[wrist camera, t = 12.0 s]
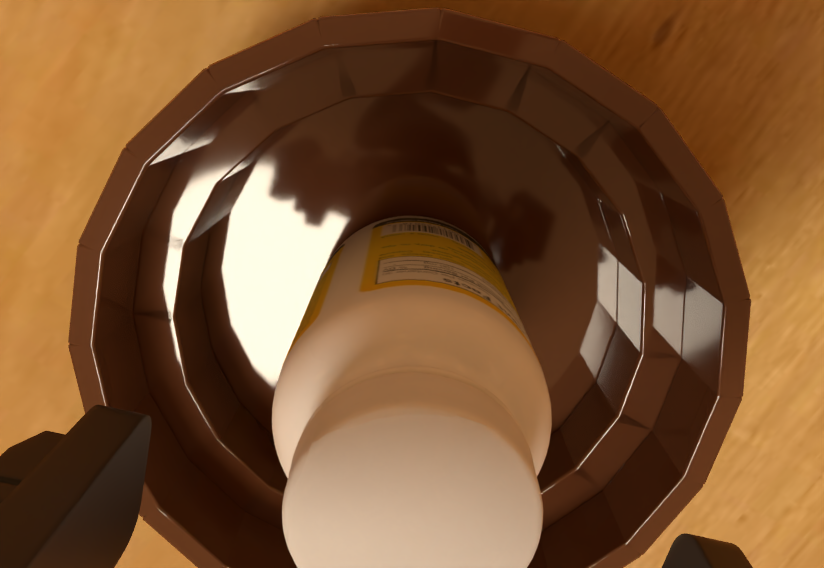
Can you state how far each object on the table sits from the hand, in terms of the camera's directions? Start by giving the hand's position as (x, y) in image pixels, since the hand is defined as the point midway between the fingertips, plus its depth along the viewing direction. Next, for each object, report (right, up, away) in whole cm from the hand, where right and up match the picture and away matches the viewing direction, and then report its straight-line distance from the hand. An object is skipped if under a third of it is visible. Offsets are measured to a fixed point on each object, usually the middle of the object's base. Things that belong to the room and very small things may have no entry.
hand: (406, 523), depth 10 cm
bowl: (0, +3, +10) cm, 10 cm away
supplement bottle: (0, +3, +10) cm, 10 cm away
